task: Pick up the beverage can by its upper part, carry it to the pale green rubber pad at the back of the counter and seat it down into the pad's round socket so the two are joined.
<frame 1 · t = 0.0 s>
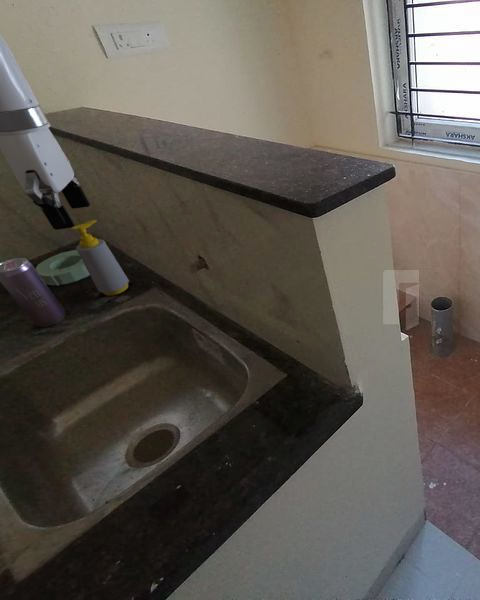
hand: (73, 217, 74), 25 cm above the table, tool pointing down, fingers open, 9 cm apart
beverage can: (51, 320, 89), on the table
socket pad: (71, 271, 106), on the table
soap bottle: (116, 289, 99), on the table
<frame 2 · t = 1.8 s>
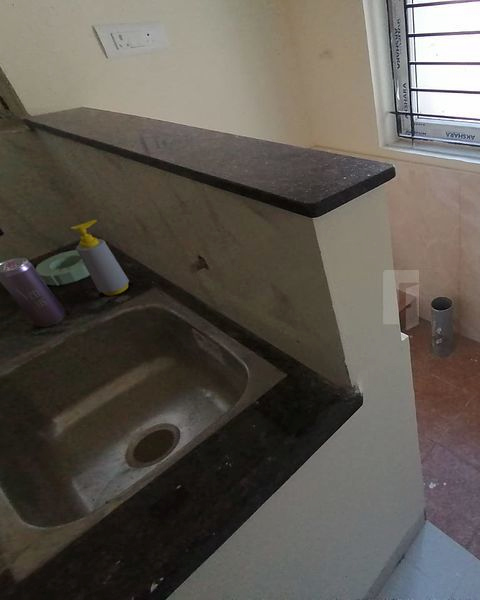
nothing on the table moved.
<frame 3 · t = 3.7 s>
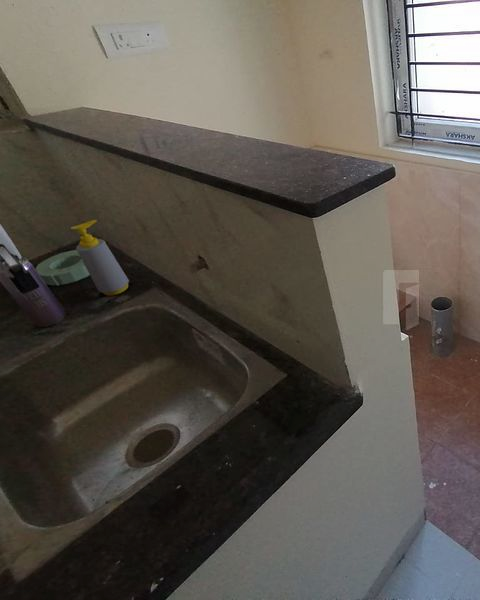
hand: (25, 284, 83), 10 cm above the table, tool pointing down, fingers closed on beverage can, 6 cm apart
beverage can: (51, 320, 89), on the table, touching gripper
everything else where it was.
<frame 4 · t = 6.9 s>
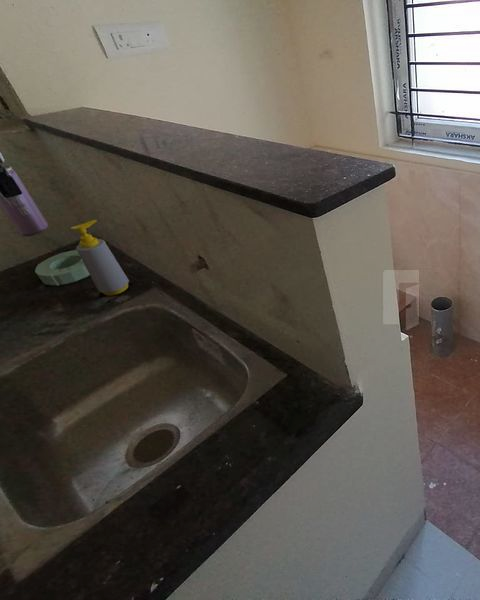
hand: (9, 191, 87), 24 cm above the table, tool pointing down, fingers closed on beverage can, 6 cm apart
beverage can: (35, 232, 94), point 14 cm above the table, touching gripper
everything else where it was.
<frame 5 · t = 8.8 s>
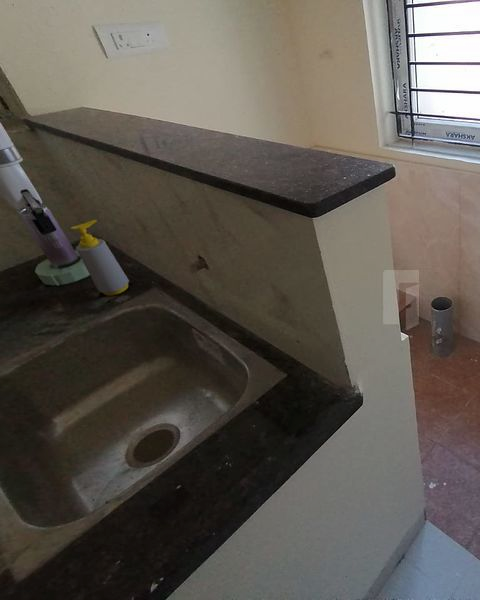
hand: (44, 228, 98), 13 cm above the table, tool pointing down, fingers closed on beverage can, 6 cm apart
beverage can: (66, 262, 104), point 3 cm above the table, touching gripper
everything else where it was.
when the fingers open (10 cm above the table, at t = 10.2 s): beverage can stays where it is, resting in socket pad.
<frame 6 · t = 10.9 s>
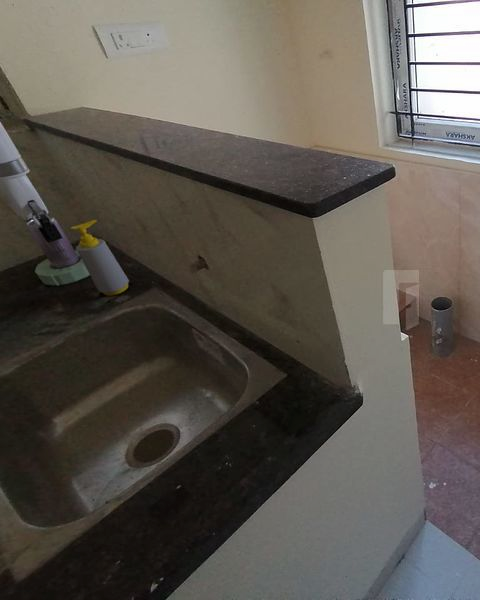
hand: (48, 235, 99), 11 cm above the table, tool pointing down, fingers open, 9 cm apart
beverage can: (72, 271, 106), resting in socket pad
everything else where it was.
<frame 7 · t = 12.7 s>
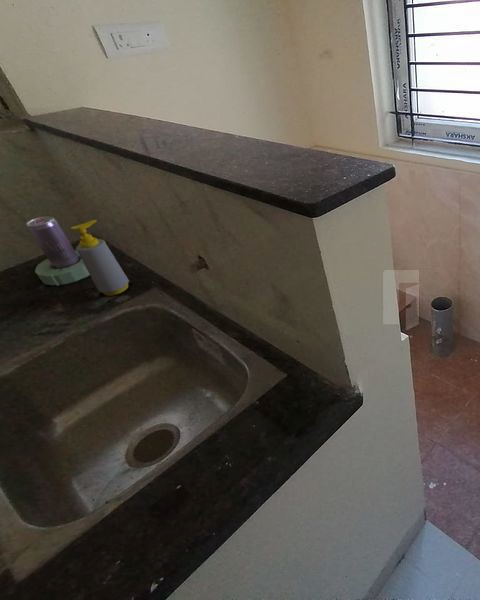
nothing on the table moved.
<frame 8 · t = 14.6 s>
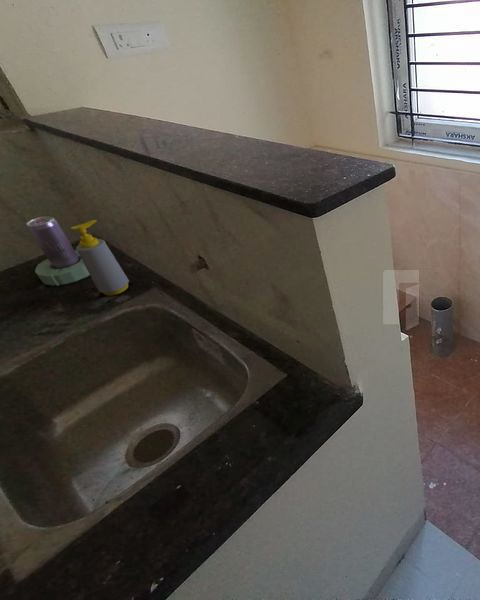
nothing on the table moved.
at the end: beverage can 0.1 cm off-centre in the socket pad, point 0.0 cm above the socket pad's base; beverage can tilted 0°; the gripper is holding nothing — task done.
